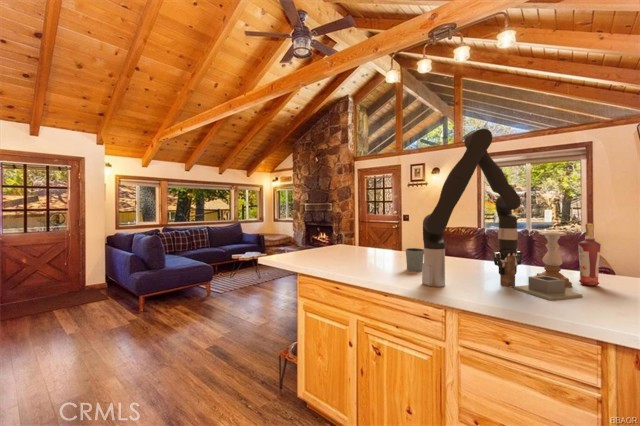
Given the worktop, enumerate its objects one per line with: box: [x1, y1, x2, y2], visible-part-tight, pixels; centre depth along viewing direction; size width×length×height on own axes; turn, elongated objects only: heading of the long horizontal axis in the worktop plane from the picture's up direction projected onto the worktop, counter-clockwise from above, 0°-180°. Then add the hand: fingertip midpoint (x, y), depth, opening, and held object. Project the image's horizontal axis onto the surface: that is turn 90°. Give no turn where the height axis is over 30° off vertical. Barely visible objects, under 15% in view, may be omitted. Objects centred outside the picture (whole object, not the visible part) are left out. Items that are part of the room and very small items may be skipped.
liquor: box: [578, 223, 602, 287], centre depth 129 cm, size 7×7×28 cm
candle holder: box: [535, 230, 573, 288], centre depth 133 cm, size 11×11×24 cm
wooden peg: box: [499, 255, 516, 288], centre depth 131 cm, size 4×4×14 cm
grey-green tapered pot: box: [405, 247, 424, 273], centre depth 164 cm, size 10×10×12 cm
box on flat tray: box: [513, 275, 583, 301], centre depth 119 cm, size 16×16×6 cm
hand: (507, 274), depth 131 cm, fingers open, 5 cm apart
